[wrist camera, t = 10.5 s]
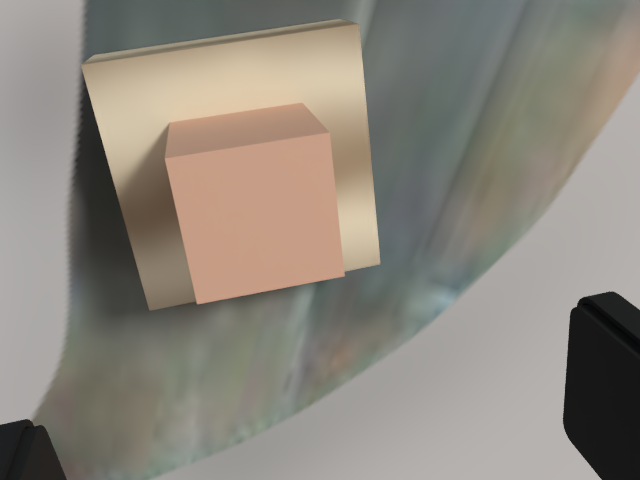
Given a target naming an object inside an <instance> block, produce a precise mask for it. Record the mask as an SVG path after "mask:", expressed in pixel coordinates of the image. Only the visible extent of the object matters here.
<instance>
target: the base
mask: <svg viewBox="0 0 640 480" xmlns="http://www.w3.org/2000/svg"><path fill="white" fill-rule="evenodd" d="M81 67H82V71H83V74H84V78H85V81H86V85H87V89H88V92H89V96H90V99H91V103H92V107H93V110H94V114H95V117H96V121H97V124H98V128H99V132H100V135H101V139H102V142H103V146H104V150H105V153H106V157H107V160H108V164H109V168H110V171H111V175H112V178H113V182H114V185H115V189H116V193H117V196H118V200H119V203H120V207H121V211H122V214H123V218H124V221H125V225H126V228H127V232H128V236H129V239H130V243H131V246H132V250H133V254H134V257H135V261H136V264H137V268H138V272H139V275H140V279H141V282H142V286H143V289H144V293H145V297H146V300H147V304H148V307H149V311H151V310H156V309H161V308H166V307H171V306H176V305H181V304H186V303H191V302H196V297H195V292H194V288H193V283H192V279H191V274H190V270H189V265H188V261H187V256H186V252H185V247H184V243H183V238H182V234H181V229H180V225H179V220H178V216H177V211H176V207H175V202H174V198H173V193H172V189H171V185H170V180H169V176H168V171H167V167H166V162H165V153H166V146H167V138H168V131H169V124H170V122H175V121H182V120H189V119H195V118H202V117H209V116H215V115H222V114H229V113H235V112H242V111H249V110H255V109H262V108H269V107H275V106H282V105H289V104H295V103H303V104H304V105H305V106H306V107H307V108H308V109H309V110H310V111H311V113H312V114H313V115H314V116H315V117H316V118H317V119H318V120H319V121H320V122H321V123H322V124H323V126H324V127H325V128H326V129H327V130H328V131H329V132H330V139H331V149H332V159H333V168H334V178H335V188H336V198H337V207H338V217H339V227H340V236H341V246H342V256H343V265H344V271H349V270H354V269H359V268H364V267H369V266H374V265H379V264H380V254H379V243H378V232H377V220H376V209H375V198H374V187H373V175H372V164H371V153H370V142H369V131H368V119H367V108H366V97H365V86H364V74H363V63H362V52H361V41H360V29H359V24H357V23H354V22H350V21H346V20H342V19H335V20H329V21H322V22H315V23H308V24H301V25H294V26H288V27H281V28H274V29H267V30H260V31H253V32H247V33H240V34H233V35H226V36H219V37H212V38H206V39H199V40H192V41H185V42H178V43H171V44H165V45H158V46H151V47H144V48H137V49H131V50H124V51H117V52H110V53H103V54H96V55H93V56H92V57H91V58H89V59H88V60H87V61H86V62H84V63H83V64H82V65H81Z"/></svg>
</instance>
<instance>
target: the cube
mask: <svg viewBox="0 0 640 480" xmlns="http://www.w3.org/2000/svg"><path fill="white" fill-rule="evenodd" d="M165 162H166V167H167V171H168V176H169V180H170V185H171V189H172V193H173V198H174V202H175V207H176V211H177V216H178V220H179V225H180V229H181V234H182V238H183V243H184V247H185V252H186V256H187V261H188V265H189V270H190V274H191V279H192V283H193V288H194V292H195V297H196V301H197V304H202V303H207V302H212V301H218V300H223V299H228V298H233V297H239V296H244V295H249V294H254V293H260V292H265V291H270V290H275V289H280V288H286V287H291V286H296V285H301V284H307V283H312V282H317V281H322V280H328V279H333V278H338V277H343V276H345V275H344V265H343V256H342V246H341V236H340V227H339V217H338V207H337V198H336V188H335V178H334V168H333V159H332V149H331V139H330V132H329V131H328V130H327V129H326V128H325V127H324V126H323V124H322V123H321V122H320V121H319V120H318V119H317V118H316V117H315V116H314V115H313V114H312V113H311V111H310V110H309V109H308V108H307V107H306V106H305V105H304V104H303V103H295V104H289V105H282V106H275V107H269V108H262V109H255V110H249V111H242V112H235V113H229V114H222V115H215V116H209V117H202V118H195V119H189V120H182V121H175V122H170V124H169V131H168V138H167V146H166V153H165Z"/></svg>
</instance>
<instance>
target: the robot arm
mask: <svg viewBox="0 0 640 480" xmlns="http://www.w3.org/2000/svg"><path fill="white" fill-rule="evenodd" d="M566 371H567V372H566V384H565V399H564V413H563V424H564V429H565V432H566V434H567V436H568V438H569V439H570V441H571V442H572V444H573V445H574V446H575V447H576V448H577V450H578V451H579V452H580V453H581V455H582V456H583V457H584V458H585V460H586V461H587V462H588V463H589V464H590V466H591V467H592V468H593V469H594V471H595V472H596V473H597V474H598V476H599V477H600V478H601V479H602V480H640V310H639V309H637V308H636V307H635V306H634V305H632V304H631V303H629V302H628V301H627V300H626V299H624V298H623V297H622V296H620V295H619V294H617V293H615V292H606V293H602V294H597V295H592V296H588V297H583V298H582V299H580V300H579V302H578V305H577V307H575V308H573V309H572V311H571V314H570V325H569V341H568V356H567V369H566ZM0 480H67V479H66V477H65V474H64V472H63V469H62V467H61V465H60V462H59V460H58V457H57V455H56V452H55V450H54V447H53V445H52V442H51V440H50V437H49V435H48V433H47V431H46V429H45V427H44V426H42V425H39V426H35V427H34V425H33V423H32V422H31V421H30V420H28V419H25V420H20V421H16V422H12V423H7V424H2V425H0Z"/></svg>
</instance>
